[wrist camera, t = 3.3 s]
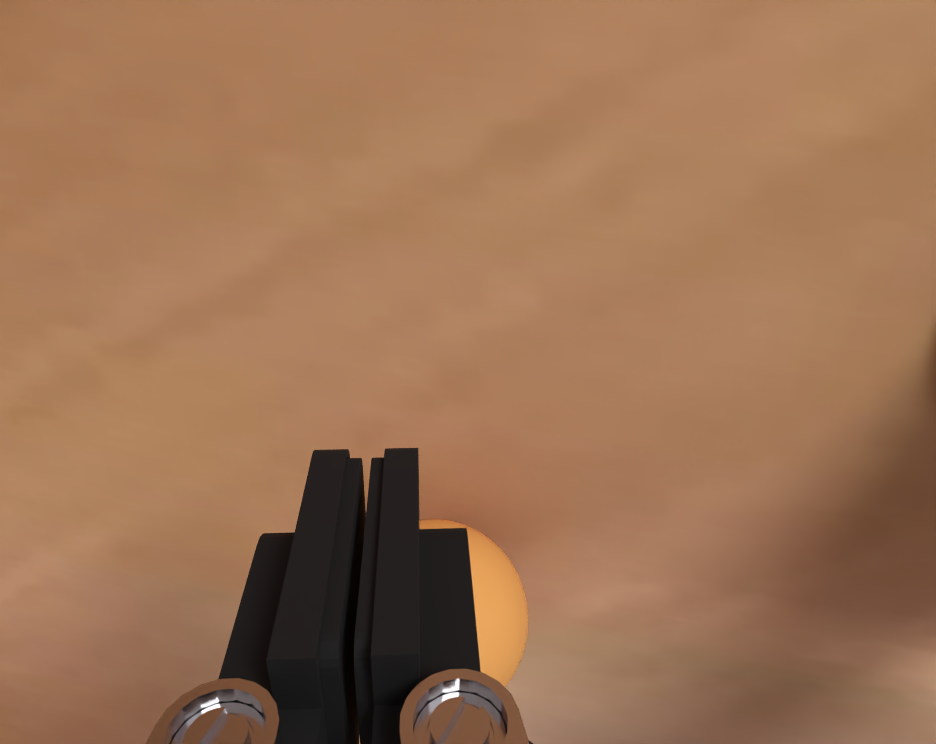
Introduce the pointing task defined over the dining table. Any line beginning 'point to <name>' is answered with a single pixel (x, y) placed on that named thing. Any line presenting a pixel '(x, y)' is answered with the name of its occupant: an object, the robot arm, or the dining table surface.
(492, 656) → the ball
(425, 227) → the dining table surface
